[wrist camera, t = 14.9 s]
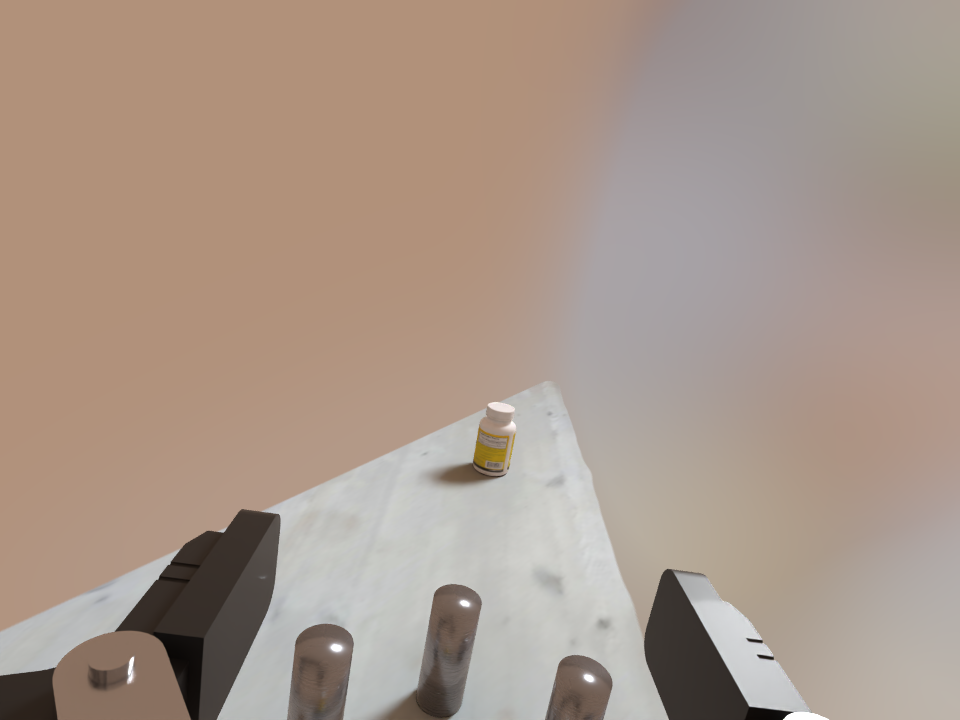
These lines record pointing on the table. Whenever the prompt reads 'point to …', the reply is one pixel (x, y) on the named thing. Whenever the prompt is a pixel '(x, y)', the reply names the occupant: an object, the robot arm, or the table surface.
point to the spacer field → (433, 667)
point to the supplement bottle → (495, 440)
